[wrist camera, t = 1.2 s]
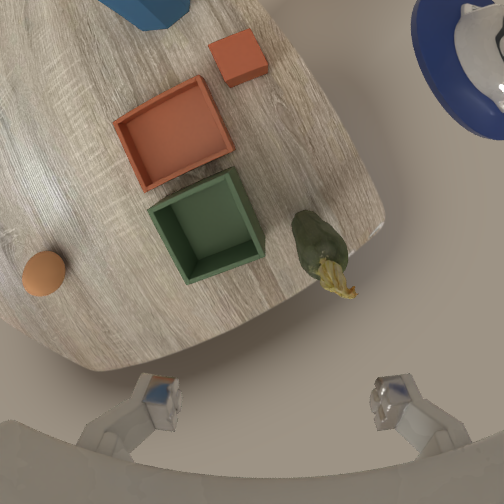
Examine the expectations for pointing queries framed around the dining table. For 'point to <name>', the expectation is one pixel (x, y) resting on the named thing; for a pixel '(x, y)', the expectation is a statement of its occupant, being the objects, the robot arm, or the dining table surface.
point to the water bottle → (149, 12)
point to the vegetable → (322, 252)
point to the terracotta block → (239, 58)
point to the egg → (43, 273)
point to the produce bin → (209, 227)
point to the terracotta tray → (173, 133)
